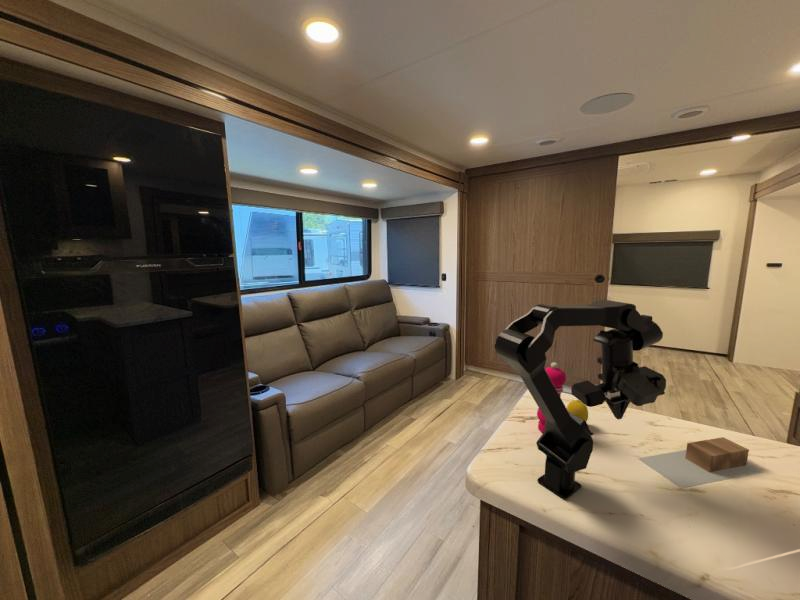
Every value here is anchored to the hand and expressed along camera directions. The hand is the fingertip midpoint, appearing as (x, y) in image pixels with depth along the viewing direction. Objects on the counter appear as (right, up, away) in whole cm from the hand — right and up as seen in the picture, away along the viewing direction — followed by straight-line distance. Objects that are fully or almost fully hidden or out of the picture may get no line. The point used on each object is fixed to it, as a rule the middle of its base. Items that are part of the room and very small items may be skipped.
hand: (618, 418), depth 73 cm
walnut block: (+19, -9, +1) cm, 21 cm away
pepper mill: (-8, -10, +16) cm, 21 cm away
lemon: (0, -9, +18) cm, 20 cm away
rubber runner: (+19, -12, +1) cm, 23 cm away
